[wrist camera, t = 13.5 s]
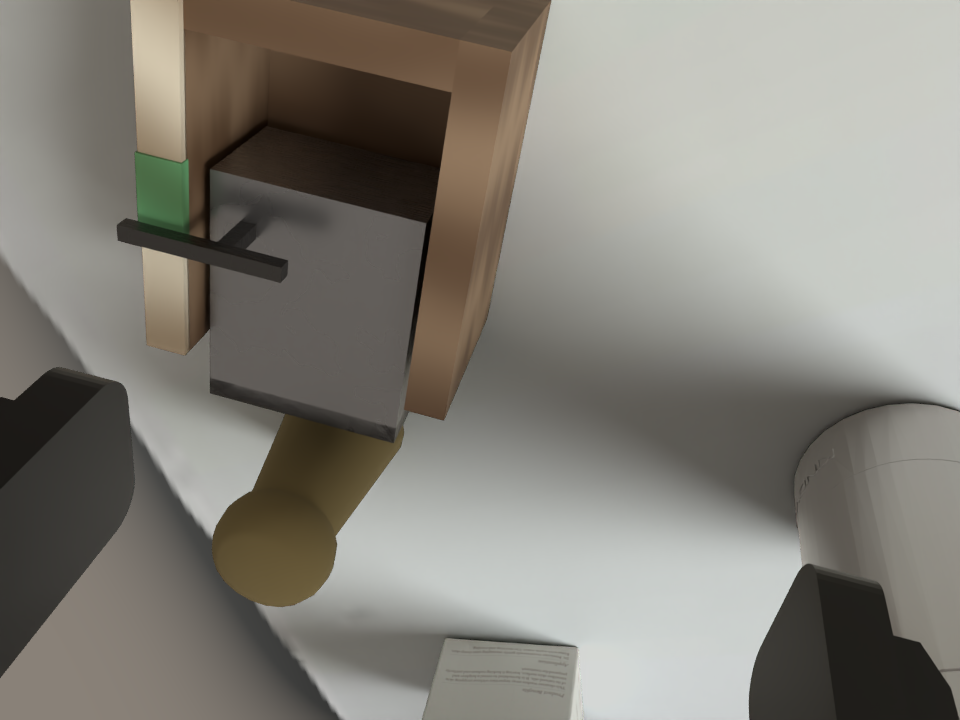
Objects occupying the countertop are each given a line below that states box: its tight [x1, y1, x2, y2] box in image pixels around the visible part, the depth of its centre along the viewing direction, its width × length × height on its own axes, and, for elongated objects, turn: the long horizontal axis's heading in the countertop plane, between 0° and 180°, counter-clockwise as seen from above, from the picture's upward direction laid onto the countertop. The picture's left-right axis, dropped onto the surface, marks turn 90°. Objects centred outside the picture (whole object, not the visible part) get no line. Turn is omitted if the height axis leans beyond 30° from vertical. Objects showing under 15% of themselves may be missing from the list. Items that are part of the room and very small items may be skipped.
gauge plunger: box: [117, 126, 440, 443], centre depth 36 cm, size 10×10×8 cm
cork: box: [212, 414, 404, 607], centre depth 42 cm, size 6×6×11 cm
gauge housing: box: [130, 0, 551, 420], centre depth 34 cm, size 14×12×8 cm
